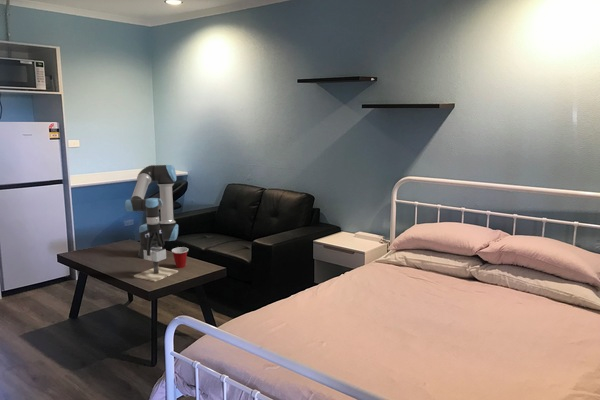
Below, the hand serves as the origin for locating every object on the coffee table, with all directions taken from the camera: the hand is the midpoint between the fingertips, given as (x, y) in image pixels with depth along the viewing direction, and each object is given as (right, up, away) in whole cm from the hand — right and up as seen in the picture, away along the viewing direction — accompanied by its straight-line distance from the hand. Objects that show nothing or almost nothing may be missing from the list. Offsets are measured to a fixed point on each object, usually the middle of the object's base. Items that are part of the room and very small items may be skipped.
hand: (155, 258), depth 297 cm
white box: (0, 0, 0) cm, 0 cm away
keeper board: (0, -10, +2) cm, 11 cm away
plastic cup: (+12, -8, +17) cm, 22 cm away
